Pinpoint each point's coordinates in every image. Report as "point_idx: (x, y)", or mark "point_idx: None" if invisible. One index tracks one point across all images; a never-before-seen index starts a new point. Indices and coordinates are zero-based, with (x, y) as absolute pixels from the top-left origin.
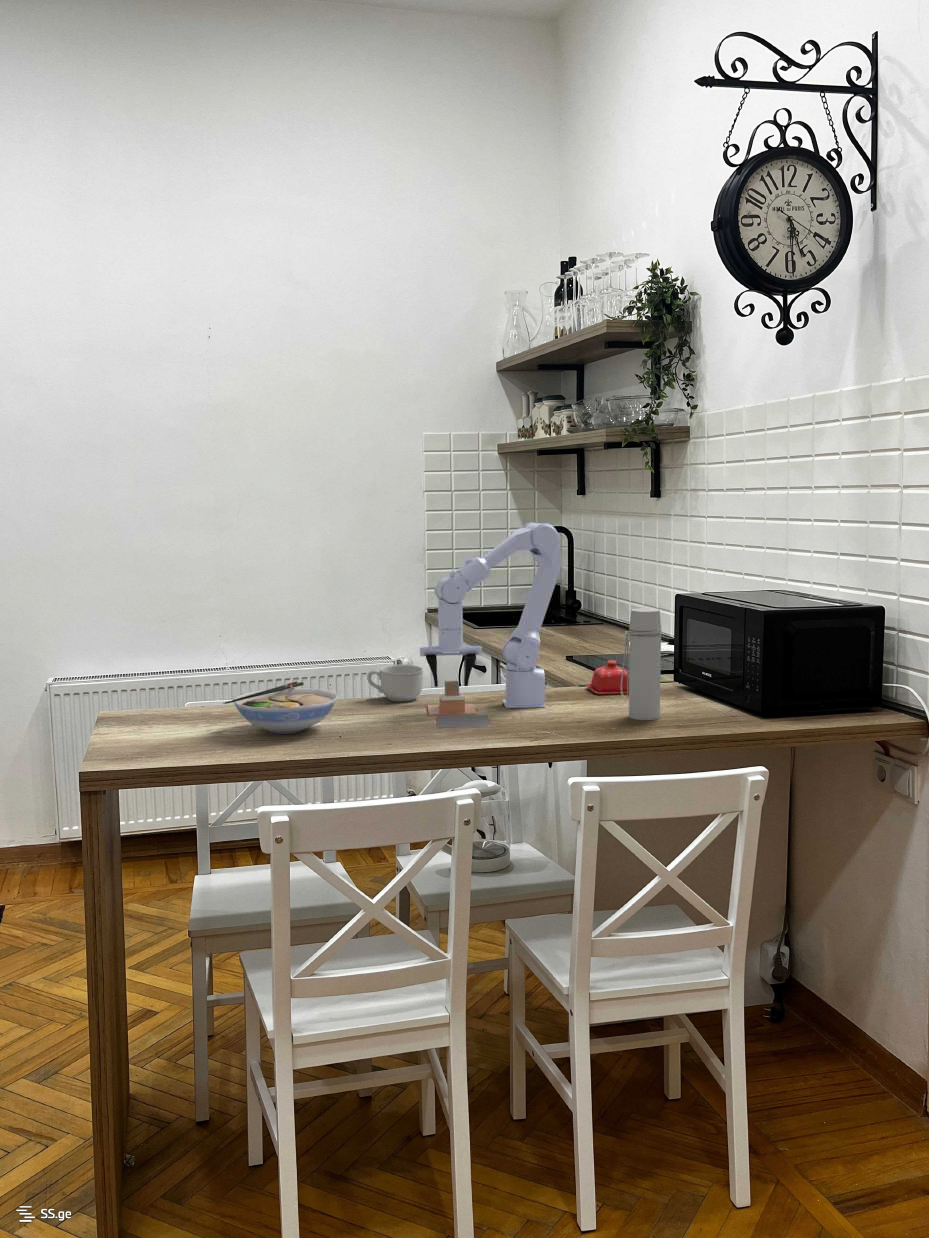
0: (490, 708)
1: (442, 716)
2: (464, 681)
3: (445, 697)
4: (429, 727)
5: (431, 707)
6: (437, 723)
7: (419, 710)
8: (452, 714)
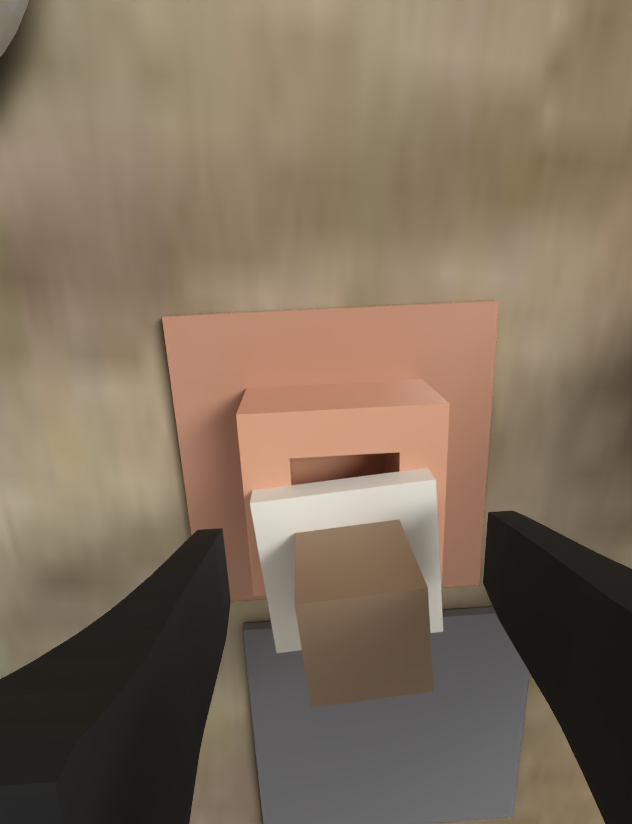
0: (594, 389)
1: None
2: (501, 549)
3: (300, 646)
4: (222, 793)
5: (200, 408)
6: (258, 771)
7: (123, 424)
8: None
